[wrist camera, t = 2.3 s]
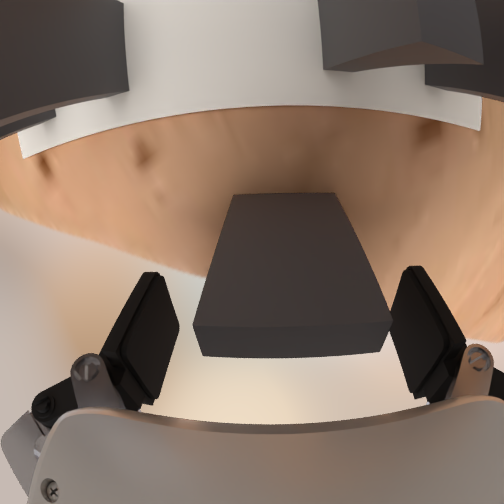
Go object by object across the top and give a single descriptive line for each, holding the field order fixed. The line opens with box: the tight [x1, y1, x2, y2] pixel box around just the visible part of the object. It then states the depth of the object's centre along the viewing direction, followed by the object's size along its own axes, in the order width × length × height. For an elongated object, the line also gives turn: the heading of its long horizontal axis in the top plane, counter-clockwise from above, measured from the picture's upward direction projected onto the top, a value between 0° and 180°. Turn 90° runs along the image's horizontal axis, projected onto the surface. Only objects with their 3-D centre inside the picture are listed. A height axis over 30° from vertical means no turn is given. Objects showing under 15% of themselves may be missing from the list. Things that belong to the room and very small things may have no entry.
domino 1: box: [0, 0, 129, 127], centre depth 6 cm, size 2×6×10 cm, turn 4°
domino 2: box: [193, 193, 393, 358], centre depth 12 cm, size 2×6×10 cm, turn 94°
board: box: [18, 0, 482, 159], centre depth 10 cm, size 32×10×1 cm, turn 94°
